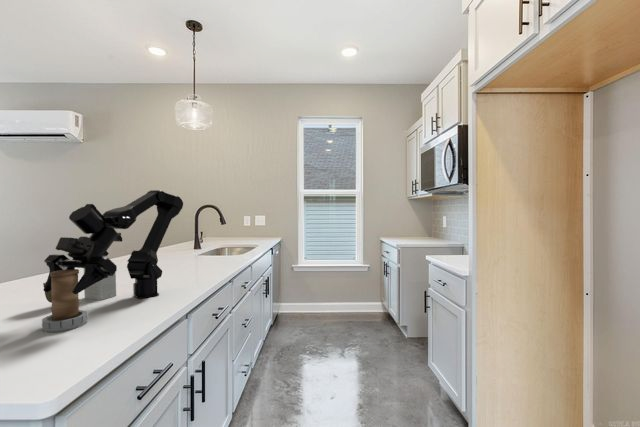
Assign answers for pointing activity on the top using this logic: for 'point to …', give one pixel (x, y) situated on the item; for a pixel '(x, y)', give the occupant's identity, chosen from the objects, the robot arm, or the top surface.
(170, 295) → the top surface
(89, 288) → the small box
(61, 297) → the brown cylinder
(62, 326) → the ring
